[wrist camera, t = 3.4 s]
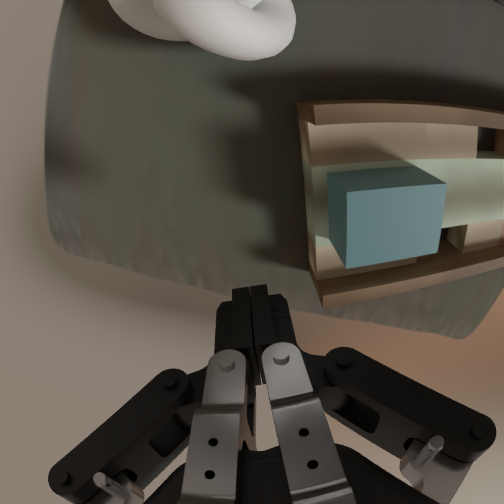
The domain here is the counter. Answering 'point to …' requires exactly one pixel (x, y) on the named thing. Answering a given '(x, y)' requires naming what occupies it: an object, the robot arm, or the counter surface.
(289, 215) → the counter surface
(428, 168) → the track
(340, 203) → the block
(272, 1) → the white knot sculpture
